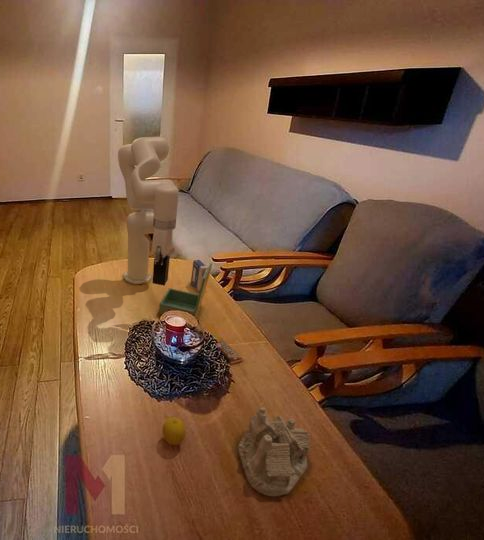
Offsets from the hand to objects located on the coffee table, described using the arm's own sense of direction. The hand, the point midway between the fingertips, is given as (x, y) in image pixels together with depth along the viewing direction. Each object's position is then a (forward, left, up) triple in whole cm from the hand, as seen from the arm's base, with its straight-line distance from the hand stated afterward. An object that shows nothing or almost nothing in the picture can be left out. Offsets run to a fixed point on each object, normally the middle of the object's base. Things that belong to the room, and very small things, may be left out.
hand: (160, 269), depth 126 cm
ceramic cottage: (+45, +43, -20) cm, 66 cm away
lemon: (+50, +20, -20) cm, 58 cm away
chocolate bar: (+10, +27, -20) cm, 36 cm away
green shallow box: (-6, +7, -20) cm, 22 cm away
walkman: (-28, +9, -20) cm, 36 cm away
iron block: (0, 0, -5) cm, 5 cm away
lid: (-6, +14, -7) cm, 17 cm away
